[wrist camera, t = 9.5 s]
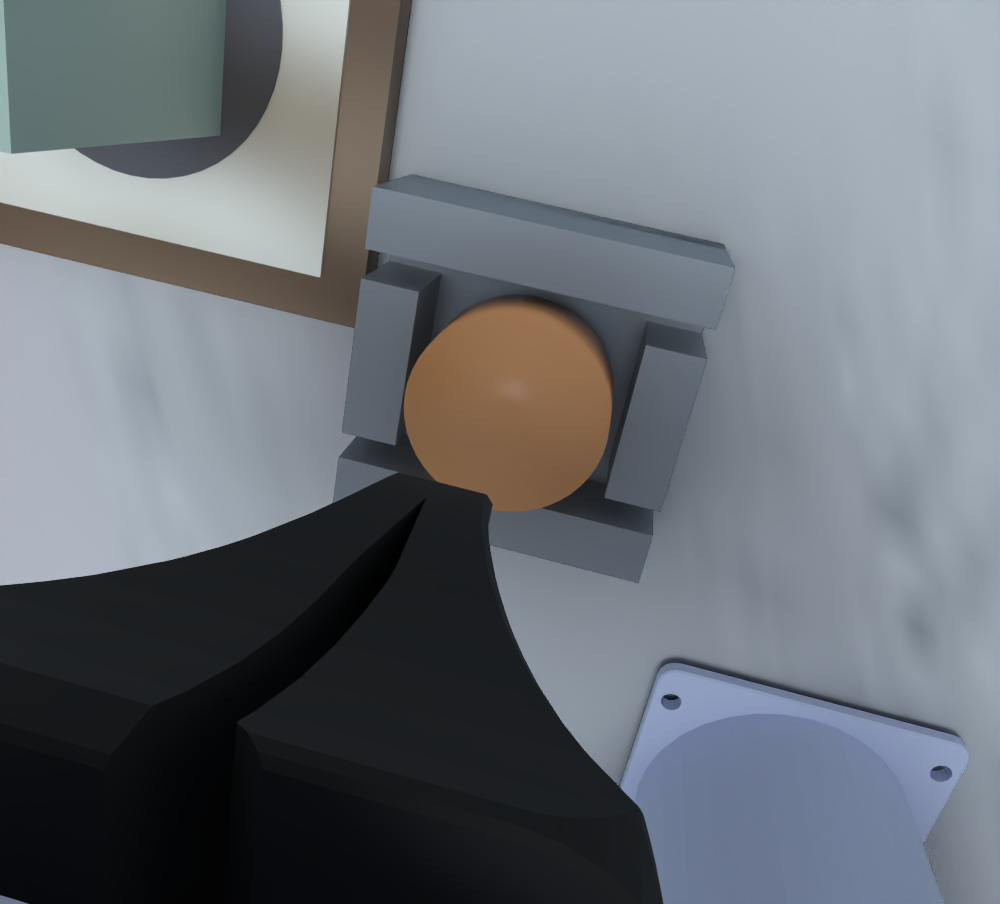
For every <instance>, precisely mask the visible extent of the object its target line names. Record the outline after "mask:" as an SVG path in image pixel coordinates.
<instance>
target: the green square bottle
mask: <svg viewBox="0 0 1000 904" xmlns="http://www.w3.org/2000/svg"><path fill="white" fill-rule="evenodd" d="M225 19H226V0H0V152H5V153H9V154H16V153H27V152H38V151H50V150H61V149H73V148H84V147H96V146H107V145H119V144H130V143H142V142H153V141H165V140H176V139H188V138H199V137H210V136H220V130H221V108H222V86H223V63H224V41H225Z"/></svg>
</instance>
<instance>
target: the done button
mask: <svg viewBox="0 0 1000 904" xmlns="http://www.w3.org/2000/svg"><path fill="white" fill-rule="evenodd" d="M613 400H614V380H613V373H612V368H611V364H610V361H609V359H608V356H607V353H606V351H605V349H604V347H603V345H602V344H601V342H600V340H599V339H598V337H597V336H596V335H595V333H594V332H593V330H592V329H591V328H590V327H589V326H588V325H587V324H586V323H585V322H584V321H583V320H582V319H580V318H579V317H578V316H577V315H576V314H574V313H573V312H571V311H570V310H568V309H566V308H565V307H563V306H561V305H559V304H557V303H555V302H552V301H550V300H546V299H543V298H540V297H535V296H529V295H503V296H497V297H493V298H489V299H486V300H483V301H481V302H478V303H476V304H474V305H472V306H470V307H468V308H467V309H465V310H464V311H462V312H461V313H460V314H458V315H457V316H456V317H455V318H454V319H453V320H452V321H451V322H450V323H449V324H448V325H447V326H446V327H445V328H444V329H443V330H442V331H441V332H440V333H439V334H438V336H437V337H436V338H435V339H434V340H433V341H432V342H431V343H430V344H429V345H428V347H427V348H426V349H425V350H424V352H423V353H422V354H421V355H420V357H419V358H418V360H417V362H416V363H415V365H414V367H413V369H412V371H411V374H410V377H409V379H408V382H407V387H406V391H405V398H404V419H405V424H406V430H407V434H408V437H409V440H410V443H411V445H412V447H413V449H414V452H415V454H416V456H417V457H418V459H419V460H420V462H421V463H422V465H423V466H424V468H425V469H426V470H427V471H428V473H429V474H430V475H431V476H432V477H433V478H434V479H435V480H436V481H437V482H440V483H444V484H448V485H452V486H456V487H460V488H464V489H468V490H472V491H476V492H480V493H484V494H487V496H488V497H489V499H490V500H491V502H492V504H493V506H492V510H497V511H508V512H517V511H528V510H534V509H539V508H542V507H545V506H549V505H551V504H553V503H555V502H558V501H560V500H562V499H563V498H565V497H567V496H568V495H570V494H571V493H573V492H574V491H575V490H576V489H578V488H579V487H580V486H581V485H582V484H583V483H584V482H585V481H586V480H587V479H588V478H589V477H590V475H591V474H592V473H593V471H594V470H595V468H596V467H597V465H598V463H599V461H600V459H601V457H602V455H603V453H604V450H605V447H606V444H607V440H608V434H609V429H610V422H611V414H612V407H613Z"/></svg>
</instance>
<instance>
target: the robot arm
mask: <svg viewBox="0 0 1000 904" xmlns="http://www.w3.org/2000/svg"><path fill="white" fill-rule="evenodd" d="M492 506H493V504H492V502H491V500H490V499H489V497H488V496H487V494H484V493H480V492H476V491H472V490H468V489H464V488H460V487H456V486H452V485H448V484H444V483H440V482H436V481H432V480H428V479H424V478H420V477H416V476H412V475H408V474H404V473H400V472H398V473H396V474H393V475H391V476H388V477H386V478H384V479H382V480H380V481H378V482H376V483H374V484H372V485H370V486H368V487H366V488H363V489H361V490H359V491H357V492H355V493H353V494H351V495H349V496H347V497H345V498H343V499H341V500H338V501H336V502H334V503H332V504H330V505H328V506H326V507H323V508H321V509H319V510H317V511H315V512H313V513H310V514H308V515H305V516H303V517H300V518H298V519H295V520H293V521H290V522H288V523H285V524H283V525H280V526H278V527H275V528H273V529H270V530H268V531H265V532H263V533H260V534H257V535H255V536H252V537H249V538H246V539H243V540H240V541H237V542H234V543H231V544H228V545H225V546H222V547H218V548H215V549H211V550H207V551H204V552H200V553H197V554H193V555H189V556H186V557H182V558H178V559H173V560H169V561H164V562H159V563H154V564H149V565H144V566H138V567H133V568H128V569H123V570H118V571H113V572H108V573H102V574H97V575H90V576H83V577H76V578H68V579H60V580H52V581H44V582H34V583H23V584H13V585H2V586H0V904H944V901H943V899H942V896H941V893H940V890H939V887H938V885H937V882H936V879H935V876H934V874H933V871H932V868H931V865H930V862H929V860H928V857H927V854H926V851H925V848H924V846H923V844H924V842H925V840H926V839H927V837H928V835H929V833H930V831H931V830H932V828H933V826H934V824H935V822H936V821H937V819H938V817H939V815H940V813H941V811H942V810H943V808H944V806H945V804H946V802H947V801H948V799H949V797H950V795H951V793H952V792H953V790H954V788H955V786H956V784H957V783H958V781H959V779H960V777H961V775H962V773H963V772H964V770H965V768H966V766H967V764H968V762H969V758H970V756H969V752H968V750H967V748H966V745H965V743H964V742H963V741H962V740H961V739H960V738H959V737H956V736H954V735H952V734H948V733H944V732H940V731H936V730H933V729H929V728H925V727H921V726H917V725H914V724H910V723H906V722H902V721H898V720H895V719H891V718H887V717H883V716H879V715H876V714H872V713H868V712H864V711H860V710H857V709H853V708H849V707H845V706H841V705H837V704H834V703H830V702H826V701H822V700H818V699H815V698H811V697H807V696H803V695H799V694H796V693H792V692H788V691H784V690H780V689H777V688H773V687H769V686H765V685H761V684H758V683H754V682H750V681H746V680H742V679H738V678H735V677H731V676H727V675H723V674H719V673H716V672H712V671H708V670H704V669H700V668H697V667H693V666H689V665H685V664H681V663H670V664H666V665H665V666H663V667H662V668H660V670H659V672H658V673H657V676H656V679H655V682H654V685H653V688H652V691H651V694H650V697H649V700H648V703H647V706H646V709H645V712H644V715H643V718H642V721H641V724H640V727H639V730H638V733H637V736H636V739H635V742H634V745H633V748H632V751H631V754H630V757H629V760H628V763H627V766H626V769H625V772H624V775H623V778H622V781H621V784H620V787H619V786H618V785H617V784H616V783H615V782H614V781H613V780H612V779H611V778H610V777H609V776H608V775H607V774H606V773H605V772H604V771H603V770H602V769H601V768H600V767H599V766H598V765H597V763H596V762H595V761H594V760H593V759H592V758H591V757H590V756H589V755H588V754H587V753H586V752H585V751H584V749H583V748H582V747H581V746H580V744H579V743H578V742H577V741H576V739H575V738H574V737H573V736H572V734H571V733H570V732H569V731H568V729H567V728H566V727H565V726H564V724H563V723H562V721H561V720H560V718H559V717H558V715H557V714H556V712H555V711H554V709H553V707H552V706H551V704H550V703H549V701H548V700H547V698H546V697H545V695H544V694H543V692H542V690H541V689H540V687H539V686H538V684H537V682H536V680H535V678H534V677H533V675H532V673H531V671H530V669H529V667H528V665H527V663H526V661H525V659H524V657H523V655H522V653H521V650H520V648H519V646H518V644H517V641H516V639H515V637H514V634H513V632H512V629H511V627H510V624H509V621H508V619H507V616H506V613H505V610H504V607H503V603H502V600H501V597H500V593H499V590H498V586H497V582H496V578H495V573H494V568H493V562H492V557H491V552H490V544H489V530H488V525H489V520H490V516H491V511H492ZM666 694H675V695H677V696H679V698H678V699H676V700H667V699H665V698H663V696H664V695H666ZM937 766H946V767H945V768H944V769H942V770H939V771H933V770H932V769H933V768H934V767H937Z"/></svg>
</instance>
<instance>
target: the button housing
mask: <svg viewBox="0 0 1000 904" xmlns="http://www.w3.org/2000/svg"><path fill="white" fill-rule="evenodd" d="M365 249H368V250H373V251H377V252H381V253H386V254H390V261H389V262H387V263H385V264H384V265H382V266H381V267H379V268H377V269H376V270H374V271H372V272H371V273H369V274H368V275H366V276H364V277H363V278H361V284H360V292H359V299H358V307H357V315H356V323H355V331H354V339H353V347H352V355H351V363H350V371H349V379H348V387H347V395H346V403H345V411H344V419H343V427H342V432H343V433H347V434H351V435H355V436H357V437H356V438H355V439H354V440H353V441H352V442H351V444H350V445H349V446H348V447H347V448H346V449H345V450H344V452H343V453H342V454H341V455H340V456H339V458H338V466H337V474H336V482H335V490H334V498H333V503H334V502H336V501H338V500H341V499H343V498H345V497H347V496H349V495H351V494H353V493H355V492H357V491H359V490H361V489H363V488H366V487H368V486H370V485H372V484H374V483H376V482H378V481H380V480H382V479H384V478H386V477H388V476H391V475H393V474H396V473H398V472H400V473H404V474H408V475H412V476H416V477H420V478H424V479H428V480H432V481H436V480H435V479H434V478H433V477H432V476H431V475H430V474H429V473H428V471H427V470H426V469H425V468H424V466H423V465H422V463H421V462H420V460H419V459H418V457H417V456H416V454H415V452H414V449H413V447H412V445H411V443H410V440H409V437H408V434H407V430H406V424H405V419H404V398H405V391H406V387H407V382H408V379H409V377H410V374H411V371H412V369H413V367H414V365H415V363H416V362H417V360H418V358H419V357H420V355H421V354H422V353H423V352H424V350H425V349H426V348H427V347H428V345H429V344H430V343H431V342H432V341H433V340H434V339H435V338H436V337H437V336H438V334H439V333H440V332H441V331H442V330H443V329H444V328H445V327H446V326H447V325H448V324H449V323H450V322H451V321H452V320H453V319H454V318H455V317H456V316H457V315H458V314H460V313H461V312H462V311H464V310H465V309H467V308H468V307H470V306H472V305H474V304H476V303H478V302H481V301H483V300H486V299H489V298H493V297H497V296H503V295H529V296H535V297H540V298H543V299H546V300H550V301H552V302H555V303H557V304H559V305H561V306H563V307H565V308H566V309H568V310H570V311H571V312H573V313H574V314H576V315H577V316H578V317H579V318H580V319H582V320H583V321H584V322H585V323H586V324H587V325H588V326H589V327H590V328H591V329H592V330H593V332H594V333H595V335H596V336H597V337H598V339H599V340H600V342H601V344H602V345H603V347H604V349H605V351H606V353H607V356H608V359H609V361H610V364H611V368H612V373H613V380H614V400H613V407H612V414H611V422H610V429H609V434H608V440H607V444H606V447H605V450H604V453H603V455H602V457H601V459H600V461H599V463H598V465H597V467H596V468H595V470H594V471H593V473H592V474H591V475H590V477H589V478H588V479H587V480H586V481H585V482H584V483H583V484H582V485H581V486H580V487H579V488H578V489H576V490H575V491H574V492H573V493H571V494H570V495H568V496H567V497H565V498H563V499H562V500H560V501H558V502H555V503H553V504H551V505H549V506H545V507H542V508H539V509H534V510H528V511H517V512H508V511H497V510H492V511H491V516H490V520H489V525H488V530H489V544H490V545H492V546H496V547H499V548H503V549H507V550H511V551H515V552H519V553H523V554H527V555H531V556H535V557H538V558H542V559H546V560H550V561H554V562H558V563H562V564H566V565H570V566H574V567H577V568H581V569H585V570H589V571H593V572H597V573H601V574H605V575H609V576H613V577H616V578H620V579H624V580H628V581H632V582H636V583H639V580H640V576H641V573H642V570H643V567H644V563H645V560H646V557H647V554H648V550H649V547H650V544H651V541H652V537H653V510H656V511H661V508H662V505H663V501H664V498H665V495H666V492H667V488H668V485H669V482H670V479H671V475H672V472H673V469H674V465H675V462H676V459H677V456H678V452H679V449H680V446H681V443H682V439H683V436H684V433H685V430H686V426H687V423H688V420H689V417H690V413H691V410H692V407H693V404H694V400H695V397H696V394H697V390H698V387H699V384H700V381H701V377H702V374H703V371H704V368H705V364H706V361H707V357H706V352H705V347H704V342H703V337H702V331H703V328H704V327H705V328H710V329H714V330H716V329H717V325H718V322H719V319H720V315H721V312H722V309H723V306H724V302H725V299H726V296H727V293H728V289H729V286H730V283H731V280H732V276H733V273H734V270H735V267H734V265H733V263H732V261H731V258H730V256H729V254H728V252H727V250H726V248H725V246H724V244H720V243H716V242H711V241H707V240H702V239H698V238H693V237H689V236H684V235H680V234H675V233H671V232H666V231H662V230H657V229H653V228H649V227H644V226H640V225H635V224H631V223H626V222H622V221H617V220H613V219H608V218H604V217H599V216H595V215H590V214H586V213H581V212H577V211H572V210H568V209H564V208H559V207H555V206H550V205H546V204H541V203H537V202H532V201H528V200H523V199H519V198H514V197H510V196H505V195H501V194H496V193H492V192H487V191H483V190H479V189H474V188H470V187H465V186H461V185H456V184H452V183H447V182H443V181H438V180H434V179H429V178H425V177H420V176H416V175H407V176H404V177H401V178H398V179H395V180H392V181H388V182H385V183H382V184H379V185H376V186H373V188H372V196H371V204H370V212H369V220H368V228H367V236H366V244H365ZM436 482H437V481H436Z"/></svg>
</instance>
